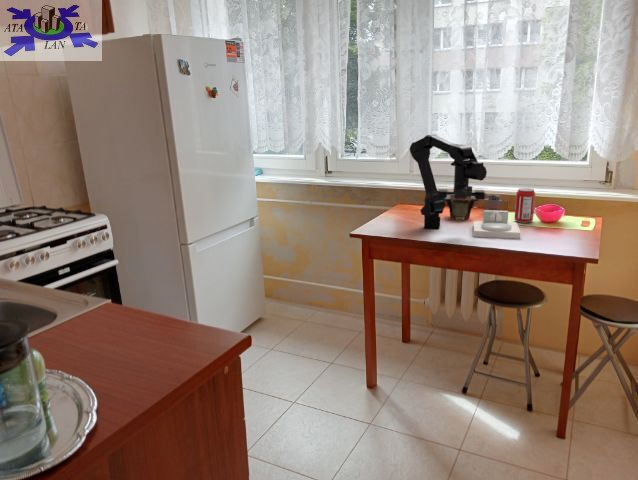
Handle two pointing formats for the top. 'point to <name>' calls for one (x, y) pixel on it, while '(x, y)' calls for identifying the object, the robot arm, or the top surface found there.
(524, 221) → the soda can
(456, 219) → the muffin
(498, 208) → the lighter
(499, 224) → the scale
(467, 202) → the ornate brown lamp shade
